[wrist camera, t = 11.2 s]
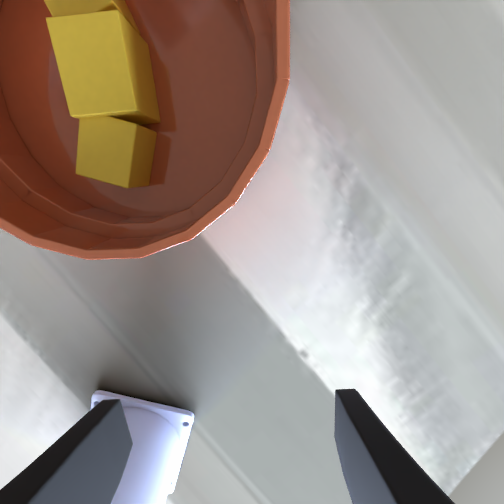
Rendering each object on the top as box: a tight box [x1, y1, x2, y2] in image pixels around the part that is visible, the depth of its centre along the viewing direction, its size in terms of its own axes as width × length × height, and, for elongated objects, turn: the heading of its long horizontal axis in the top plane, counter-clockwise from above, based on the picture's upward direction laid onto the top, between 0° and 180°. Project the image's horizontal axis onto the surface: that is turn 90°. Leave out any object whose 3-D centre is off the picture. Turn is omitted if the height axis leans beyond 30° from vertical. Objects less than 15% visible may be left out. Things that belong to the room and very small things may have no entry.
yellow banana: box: [44, 0, 161, 188], centre depth 12 cm, size 10×4×3 cm, turn 4°
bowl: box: [0, 0, 290, 260], centre depth 12 cm, size 16×16×5 cm
